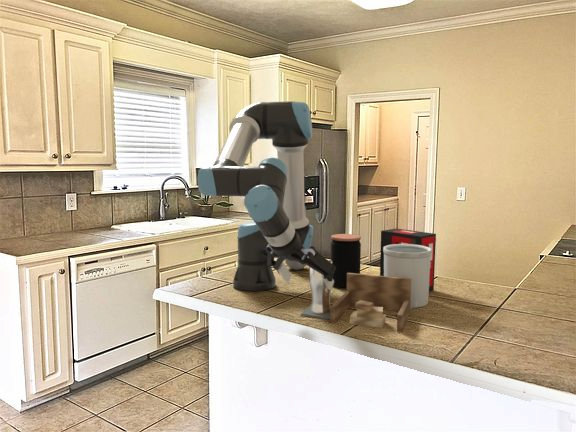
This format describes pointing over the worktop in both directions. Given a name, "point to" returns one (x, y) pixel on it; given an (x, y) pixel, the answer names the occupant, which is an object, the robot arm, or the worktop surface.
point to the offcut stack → (368, 315)
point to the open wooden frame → (376, 295)
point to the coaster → (310, 314)
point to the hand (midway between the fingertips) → (309, 282)
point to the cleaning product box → (409, 238)
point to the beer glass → (319, 293)
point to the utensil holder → (410, 268)
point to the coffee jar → (345, 257)
